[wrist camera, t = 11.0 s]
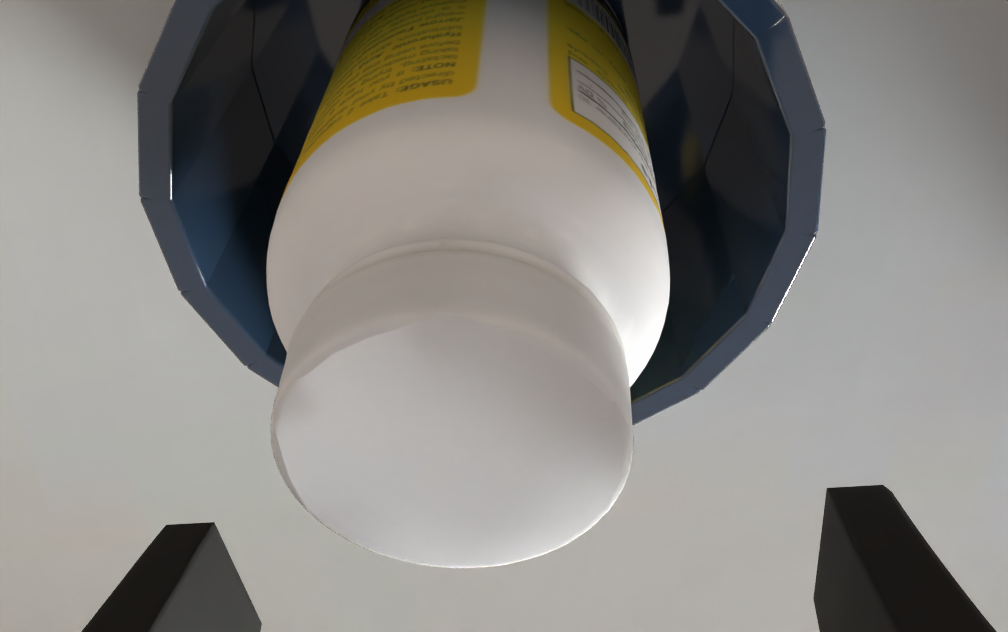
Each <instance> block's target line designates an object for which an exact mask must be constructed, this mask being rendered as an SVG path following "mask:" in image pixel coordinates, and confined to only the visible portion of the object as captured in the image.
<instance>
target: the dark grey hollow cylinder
mask: <svg viewBox="0 0 1008 632" xmlns="http://www.w3.org/2000/svg"><path fill="white" fill-rule="evenodd" d="M607 1H608V2H609V4H610V6H611V7H612V9H613V10H614V12H615V14H616V16H617V18H618V20H619V22H620V24H621V27H622V29H623V32H624V35H625V37H626V39H627V42H628V46H629V49H630V52H631V56H632V60H633V65H634V70H635V76H636V81H637V86H638V91H639V98H640V103H641V108H642V114H643V119H644V123H645V129H646V134H647V140H648V145H649V151H650V156H651V161H652V167H653V172H654V177H655V183H656V189H657V194H658V199H659V204H660V210H661V214H662V219H663V225H664V230H665V235H666V242H667V249H668V257H669V270H670V294H669V304H668V309H667V313H666V318H665V322H664V325H663V329H662V332H661V335H660V338H659V341H658V343H657V345H656V348H655V350H654V352H653V354H652V356H651V358H650V359H649V361H648V363H647V365H646V366H645V368H644V369H643V371H642V372H641V374H640V375H639V376H638V378H637V379H636V381H635V382H634V383H633V385H632V386H631V387H630V397H631V412H632V425H635V424H637V423H639V422H641V421H643V420H645V419H647V418H649V417H651V416H653V415H655V414H657V413H659V412H661V411H663V410H665V409H667V408H669V407H671V406H673V405H675V404H677V403H679V402H681V401H683V400H685V399H687V398H689V397H691V396H693V395H695V394H697V393H698V392H699V391H700V390H703V389H704V388H705V387H706V386H707V385H708V384H709V383H710V382H712V381H713V380H714V379H715V378H716V377H717V376H718V375H719V374H720V373H721V372H722V371H723V370H724V369H725V368H726V367H727V366H728V365H729V364H730V363H732V362H733V361H734V360H735V359H736V358H737V357H738V356H739V355H740V354H741V353H742V352H743V351H744V350H745V349H746V348H747V347H748V346H749V345H750V344H752V343H753V342H754V341H755V340H756V339H757V338H758V337H759V336H760V335H761V334H762V333H763V332H764V331H765V330H766V329H767V328H768V327H769V326H770V324H771V323H772V322H773V321H774V319H775V317H776V315H777V313H778V311H779V309H780V307H781V305H782V303H783V301H784V299H785V297H786V295H787V293H788V291H789V289H790V287H791V285H792V283H793V281H794V279H795V277H796V275H797V273H798V272H799V270H800V268H801V266H802V264H803V262H804V260H805V258H806V256H807V254H808V252H809V250H810V248H811V246H812V244H813V242H814V240H815V238H816V233H817V231H818V224H819V211H820V199H821V187H822V174H823V162H824V150H825V138H826V129H825V120H824V117H823V115H822V112H821V109H820V106H819V103H818V100H817V97H816V94H815V91H814V88H813V86H812V83H811V80H810V77H809V74H808V71H807V68H806V65H805V62H804V60H803V57H802V54H801V51H800V48H799V45H798V42H797V39H796V36H795V34H794V31H793V28H792V25H791V22H790V19H789V17H788V15H787V13H786V12H785V10H784V8H783V6H782V4H781V3H780V1H779V0H607ZM364 2H365V0H175V1H174V3H173V5H172V8H171V10H170V12H169V15H168V17H167V20H166V22H165V24H164V27H163V29H162V31H161V34H160V36H159V38H158V41H157V43H156V46H155V48H154V50H153V53H152V55H151V57H150V60H149V62H148V64H147V67H146V69H145V72H144V74H143V76H142V79H141V81H140V83H139V90H138V92H137V108H138V159H139V195H140V197H141V203H142V205H143V208H144V210H145V212H146V215H147V217H148V219H149V222H150V224H151V226H152V229H153V231H154V234H155V236H156V238H157V241H158V243H159V245H160V248H161V250H162V253H163V255H164V257H165V260H166V262H167V264H168V267H169V269H170V272H171V274H172V276H173V279H174V281H175V283H176V286H177V288H178V290H179V291H181V295H182V296H183V297H184V298H185V299H186V301H187V302H188V303H189V304H190V305H191V306H192V307H193V308H194V310H195V311H196V312H197V313H198V314H199V315H200V316H201V317H202V319H203V320H204V321H205V322H206V323H207V324H208V325H209V326H210V328H211V329H212V330H213V331H214V332H215V333H216V334H217V335H218V336H219V338H220V339H221V340H222V341H223V342H224V343H225V344H226V345H227V347H228V348H229V349H230V350H231V351H232V352H233V353H234V354H235V356H236V357H237V358H238V359H239V360H240V361H241V362H242V363H243V365H245V366H247V367H248V369H250V370H251V371H253V372H254V373H256V374H258V375H259V376H261V377H262V378H264V379H266V380H267V381H269V382H270V383H272V384H274V385H275V386H277V387H279V384H280V380H281V376H282V372H283V369H284V365H285V361H286V356H287V351H286V349H285V347H284V345H283V344H282V342H281V339H280V337H279V335H278V332H277V330H276V327H275V325H274V322H273V320H272V315H271V311H270V307H269V301H268V292H267V275H266V265H267V252H268V245H269V239H270V234H271V231H272V227H273V224H274V220H275V217H276V213H277V210H278V207H279V204H280V202H281V199H282V196H283V194H284V191H285V188H286V186H287V183H288V181H289V179H290V177H291V175H292V172H293V170H294V168H295V165H296V163H297V160H298V158H299V156H300V154H301V151H302V148H303V145H304V143H305V140H306V138H307V135H308V133H309V130H310V128H311V126H312V123H313V121H314V118H315V116H316V113H317V110H318V108H319V106H320V103H321V101H322V99H323V96H324V94H325V92H326V89H327V87H328V84H329V82H330V79H331V77H332V74H333V71H334V69H335V66H336V63H337V60H338V57H339V54H340V52H341V49H342V47H343V44H344V42H345V39H346V36H347V34H348V32H349V29H350V27H351V25H352V23H353V21H354V19H355V17H356V15H357V13H358V11H359V9H360V8H361V6H362V5H363V3H364Z"/></svg>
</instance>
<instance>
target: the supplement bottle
mask: <svg viewBox="0 0 1008 632" xmlns="http://www.w3.org/2000/svg"><path fill="white" fill-rule="evenodd" d="M266 275H267V292H268V301H269V307H270V311H271V315H272V320H273V322H274V325H275V327H276V330H277V332H278V335H279V337H280V339H281V342H282V344H283V345H284V347H285V349H286V351H287V356H286V361H285V365H284V369H283V372H282V376H281V380H280V384H279V387H278V391H277V394H276V397H275V401H274V406H273V411H272V416H271V444H272V449H273V454H274V458H275V461H276V464H277V467H278V469H279V471H280V474H281V476H282V478H283V480H284V481H285V483H286V485H287V486H288V488H289V489H290V491H291V492H292V494H293V495H294V496H295V498H296V499H297V500H298V501H299V502H300V503H301V504H302V505H303V507H304V508H305V509H306V510H307V511H308V512H309V513H310V514H312V515H313V516H314V517H315V518H316V519H317V520H318V521H320V522H321V523H322V524H324V525H325V526H326V527H328V528H329V529H331V530H332V531H334V532H335V533H337V534H339V535H340V536H342V537H343V538H345V539H347V540H349V541H351V542H353V543H355V544H357V545H359V546H361V547H363V548H365V549H368V550H370V551H373V552H376V553H378V554H381V555H384V556H387V557H391V558H395V559H399V560H402V561H406V562H411V563H416V564H421V565H427V566H433V567H445V568H481V567H492V566H500V565H507V564H511V563H515V562H519V561H523V560H527V559H530V558H534V557H538V556H541V555H543V554H546V553H548V552H550V551H552V550H555V549H557V548H560V547H562V546H564V545H566V544H568V543H569V542H571V541H572V540H574V539H576V538H577V537H579V536H580V535H582V534H583V533H585V532H586V531H587V530H589V529H590V528H591V527H593V526H594V525H595V524H596V523H597V522H598V521H599V520H600V519H601V518H602V517H603V516H604V515H605V514H606V513H607V512H608V511H609V510H610V508H611V507H612V505H613V504H614V502H615V501H616V499H617V498H618V496H619V495H620V493H621V491H622V489H623V487H624V485H625V483H626V480H627V478H628V474H629V471H630V468H631V463H632V455H633V446H634V436H633V425H632V412H631V397H630V387H631V386H632V385H633V383H634V382H635V381H636V379H637V378H638V376H639V375H640V374H641V372H642V371H643V369H644V368H645V366H646V365H647V363H648V361H649V359H650V358H651V356H652V354H653V352H654V350H655V348H656V345H657V343H658V341H659V338H660V335H661V332H662V329H663V325H664V322H665V318H666V313H667V309H668V304H669V294H670V270H669V257H668V249H667V242H666V235H665V230H664V225H663V219H662V214H661V210H660V204H659V199H658V194H657V189H656V183H655V177H654V172H653V167H652V161H651V156H650V151H649V145H648V140H647V134H646V129H645V123H644V119H643V114H642V108H641V103H640V98H639V91H638V86H637V81H636V76H635V70H634V65H633V60H632V56H631V52H630V49H629V46H628V42H627V39H626V37H625V35H624V32H623V29H622V27H621V24H620V22H619V20H618V18H617V16H616V14H615V12H614V10H613V9H612V7H611V6H610V4H609V2H608V1H607V0H365V2H364V3H363V5H362V6H361V8H360V9H359V11H358V13H357V15H356V17H355V19H354V21H353V23H352V25H351V27H350V29H349V32H348V34H347V36H346V39H345V42H344V44H343V47H342V49H341V52H340V54H339V57H338V60H337V63H336V66H335V69H334V71H333V74H332V77H331V79H330V82H329V84H328V87H327V89H326V92H325V94H324V96H323V99H322V101H321V103H320V106H319V108H318V110H317V113H316V116H315V118H314V121H313V123H312V126H311V128H310V130H309V133H308V135H307V138H306V140H305V143H304V145H303V148H302V151H301V154H300V156H299V158H298V160H297V163H296V165H295V168H294V170H293V172H292V175H291V177H290V179H289V181H288V183H287V186H286V188H285V191H284V194H283V196H282V199H281V202H280V204H279V207H278V210H277V213H276V217H275V220H274V224H273V227H272V231H271V234H270V239H269V245H268V252H267V265H266Z"/></svg>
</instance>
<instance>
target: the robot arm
mask: <svg viewBox="0 0 1008 632" xmlns="http://www.w3.org/2000/svg"><path fill="white" fill-rule="evenodd" d="M814 603H815V609H816V614H817V619H818V624H819V629H820V632H996V631H995V629H994V628H993V627H992V626H991V625H990V623H989V622H988V621H987V620H986V619H985V617H984V616H983V615H982V614H981V612H980V611H979V610H978V609H977V607H976V606H975V605H974V603H973V602H972V601H971V600H970V598H969V597H968V596H967V595H966V593H965V592H964V591H963V589H962V588H961V587H960V586H959V584H958V583H957V582H956V580H955V579H954V578H953V576H952V575H951V574H950V572H949V571H948V570H947V569H946V567H945V566H944V565H943V563H942V562H941V561H940V559H939V558H938V557H937V555H936V554H935V553H934V551H933V550H932V548H931V547H930V546H929V544H928V543H927V542H926V540H925V539H924V538H923V536H922V535H921V533H920V532H919V531H918V529H917V528H916V526H915V525H914V524H913V522H912V521H911V519H910V518H909V516H908V515H907V514H906V512H905V511H904V509H903V508H902V506H901V505H900V503H899V502H898V500H897V499H896V497H895V496H894V495H893V493H892V492H891V491H890V490H889V489H887V488H886V487H885V486H884V485H874V486H856V487H838V488H827V492H826V501H825V509H824V517H823V525H822V534H821V542H820V550H819V559H818V567H817V575H816V583H815V592H814ZM260 630H261V621H260V619H259V617H258V615H257V613H256V610H255V608H254V606H253V604H252V602H251V600H250V598H249V595H248V593H247V591H246V589H245V587H244V585H243V583H242V581H241V578H240V576H239V574H238V572H237V570H236V568H235V566H234V564H233V561H232V559H231V557H230V555H229V553H228V551H227V549H226V547H225V544H224V542H223V540H222V538H221V536H220V534H219V532H218V529H217V527H216V525H215V523H214V522H212V523H194V524H176V525H166V526H165V527H164V528H163V529H162V531H161V532H160V533H159V534H158V535H157V537H156V538H155V539H154V540H153V542H152V543H151V544H150V545H149V547H148V548H147V549H146V550H145V552H144V553H143V554H142V555H141V557H140V558H139V559H138V560H137V562H136V563H135V564H134V566H133V567H132V568H131V569H130V571H129V572H128V573H127V574H126V576H125V577H124V578H123V580H122V581H121V582H120V583H119V585H118V586H117V587H116V589H115V590H114V591H113V592H112V594H111V595H110V596H109V597H108V599H107V600H106V601H105V603H104V604H103V605H102V606H101V608H100V609H99V610H98V611H97V613H96V614H95V615H94V616H93V618H92V619H91V620H90V622H89V623H88V624H87V625H86V627H85V628H84V629H83V630H82V632H260Z"/></svg>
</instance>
